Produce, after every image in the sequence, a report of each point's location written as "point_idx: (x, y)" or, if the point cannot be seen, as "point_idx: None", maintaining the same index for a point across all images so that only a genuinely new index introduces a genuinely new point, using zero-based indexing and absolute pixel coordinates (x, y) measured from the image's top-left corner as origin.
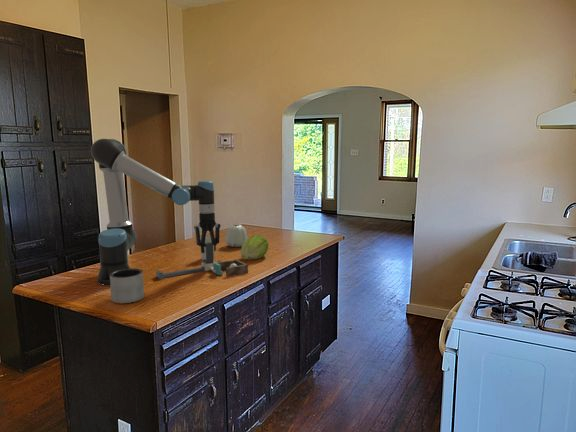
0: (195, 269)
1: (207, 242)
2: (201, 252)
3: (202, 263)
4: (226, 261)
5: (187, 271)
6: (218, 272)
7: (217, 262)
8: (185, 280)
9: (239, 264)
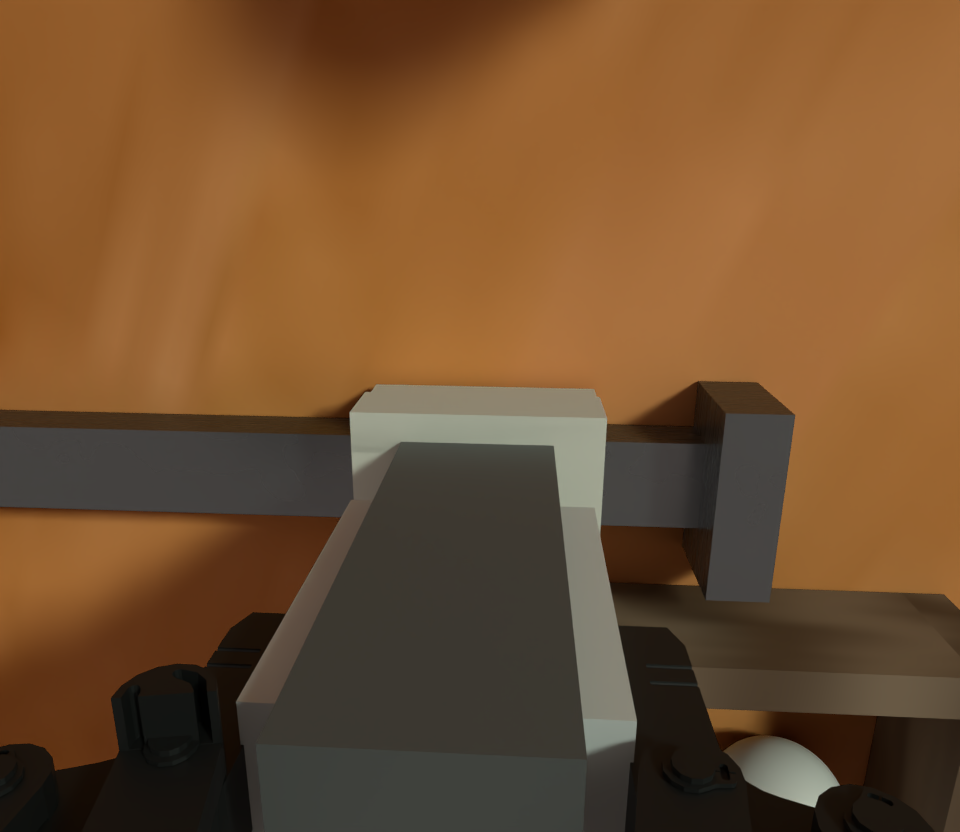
0: (210, 512)
1: (447, 776)
2: (250, 628)
3: (355, 472)
4: (779, 696)
5: (75, 502)
6: None
7: (717, 403)
8: (10, 735)
9: None
